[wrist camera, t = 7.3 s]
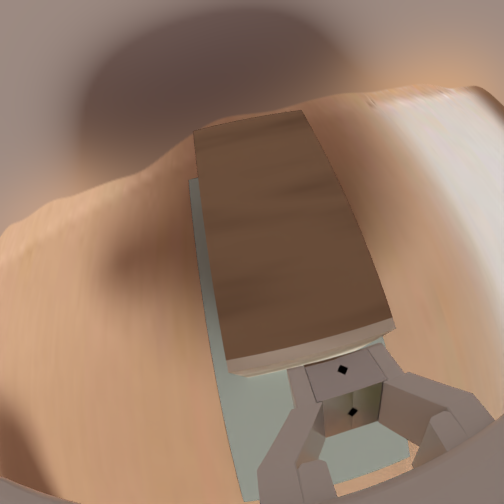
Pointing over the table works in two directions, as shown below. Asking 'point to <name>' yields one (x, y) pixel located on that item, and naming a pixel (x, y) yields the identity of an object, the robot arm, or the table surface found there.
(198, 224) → the mat
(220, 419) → the table surface
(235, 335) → the block
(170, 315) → the table surface
